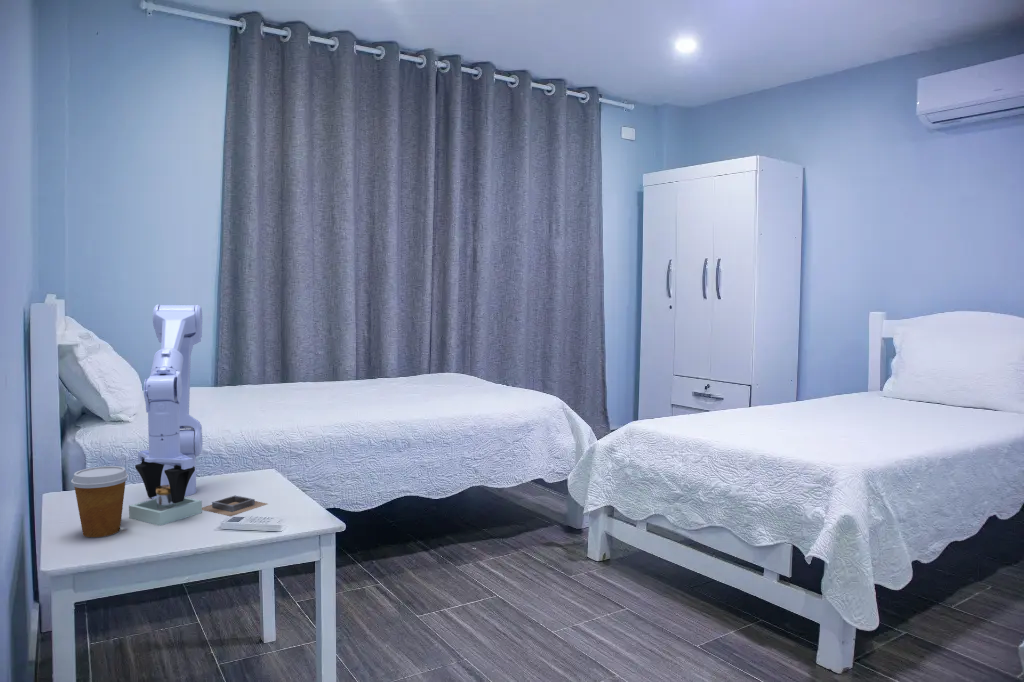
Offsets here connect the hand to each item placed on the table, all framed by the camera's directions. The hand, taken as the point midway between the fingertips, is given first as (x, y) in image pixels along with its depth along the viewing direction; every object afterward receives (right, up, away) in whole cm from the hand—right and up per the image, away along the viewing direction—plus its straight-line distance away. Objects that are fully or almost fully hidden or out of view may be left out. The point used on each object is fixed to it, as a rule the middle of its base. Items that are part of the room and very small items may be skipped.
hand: (165, 499), depth 145 cm
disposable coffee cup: (-9, -5, -8) cm, 13 cm away
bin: (0, -4, 0) cm, 4 cm away
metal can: (0, -4, 0) cm, 4 cm away
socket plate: (+11, -4, +7) cm, 14 cm away
